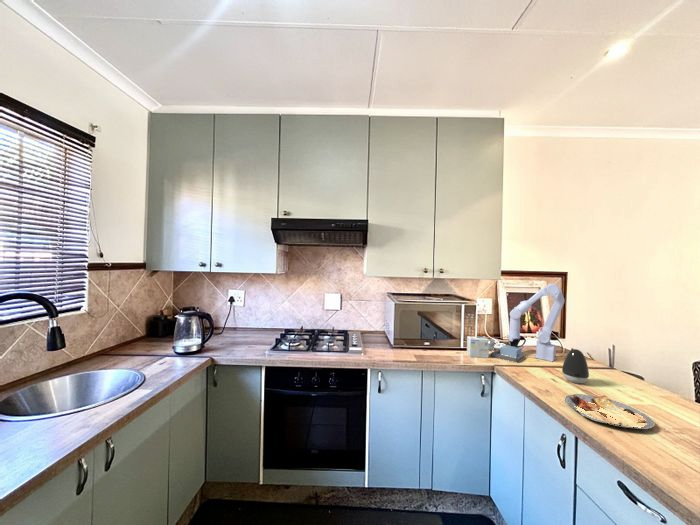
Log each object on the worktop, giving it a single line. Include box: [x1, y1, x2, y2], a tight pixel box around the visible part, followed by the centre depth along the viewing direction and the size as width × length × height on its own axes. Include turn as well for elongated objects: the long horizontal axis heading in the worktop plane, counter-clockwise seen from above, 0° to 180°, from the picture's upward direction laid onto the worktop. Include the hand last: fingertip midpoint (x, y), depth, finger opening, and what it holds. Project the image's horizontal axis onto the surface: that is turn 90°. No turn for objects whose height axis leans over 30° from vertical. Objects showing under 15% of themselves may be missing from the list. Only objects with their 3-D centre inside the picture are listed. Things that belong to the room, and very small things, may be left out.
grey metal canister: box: [488, 338, 496, 351], centre depth 195 cm, size 5×5×6 cm
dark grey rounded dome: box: [561, 347, 590, 384], centre depth 145 cm, size 10×10×15 cm
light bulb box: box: [466, 335, 490, 359], centre depth 180 cm, size 11×7×11 cm, turn 86°
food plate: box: [564, 393, 655, 430], centre depth 113 cm, size 25×23×4 cm
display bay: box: [490, 348, 525, 364], centre depth 180 cm, size 14×13×2 cm
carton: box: [499, 344, 523, 358], centre depth 185 cm, size 9×8×4 cm
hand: (513, 351), depth 189 cm, fingers closed
